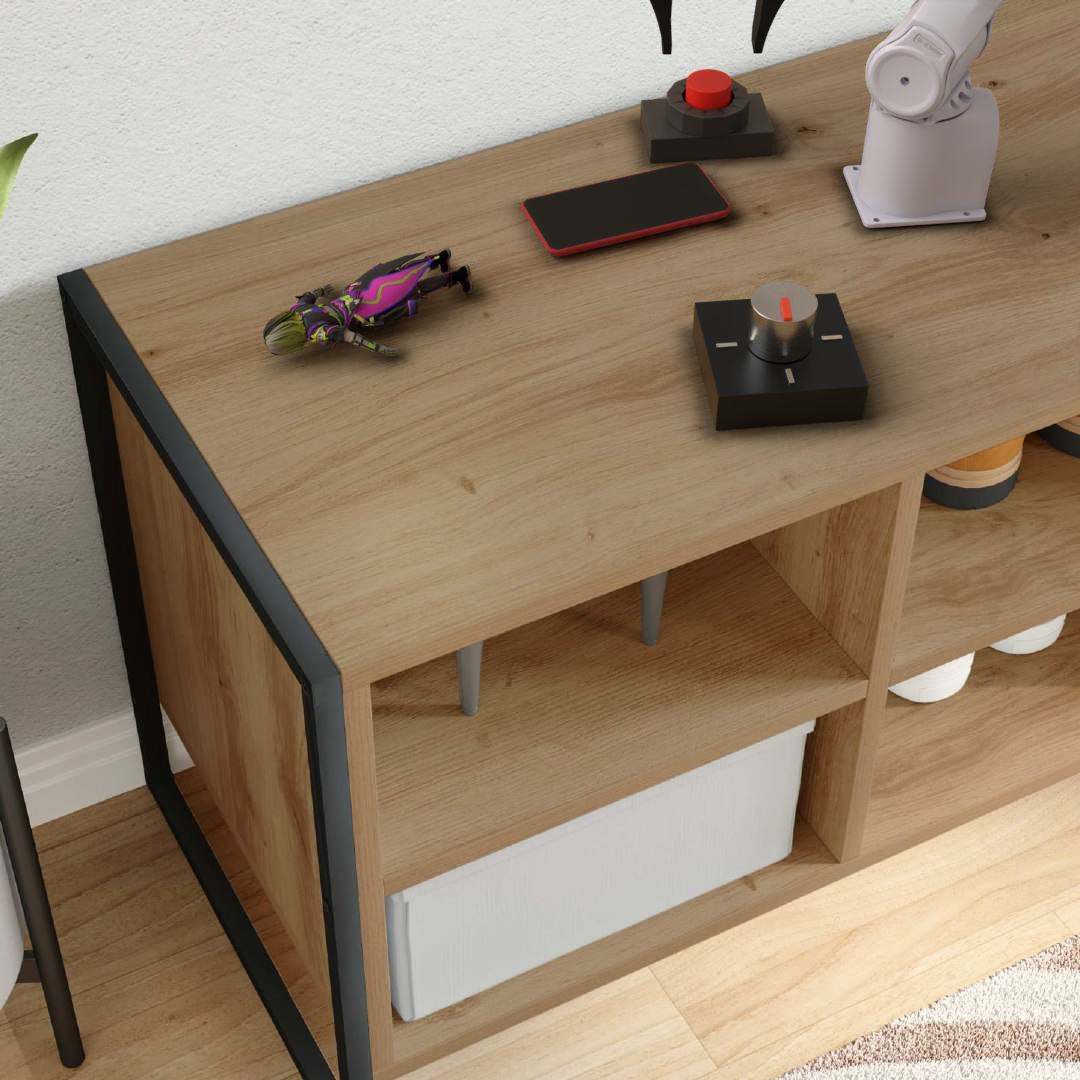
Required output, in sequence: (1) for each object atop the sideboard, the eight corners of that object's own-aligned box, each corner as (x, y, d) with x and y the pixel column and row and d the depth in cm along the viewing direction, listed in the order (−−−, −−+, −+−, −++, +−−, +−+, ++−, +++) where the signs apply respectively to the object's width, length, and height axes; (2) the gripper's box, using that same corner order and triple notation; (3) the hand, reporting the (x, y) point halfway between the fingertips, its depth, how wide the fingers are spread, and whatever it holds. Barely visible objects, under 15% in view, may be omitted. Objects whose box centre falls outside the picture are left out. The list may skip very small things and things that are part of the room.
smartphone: (518, 200, 122) (695, 159, 125) (518, 209, 123) (695, 169, 126) (551, 253, 117) (734, 209, 121) (551, 263, 118) (733, 219, 121)
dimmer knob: (743, 322, 108) (748, 277, 105) (808, 321, 108) (814, 276, 105) (749, 363, 105) (754, 318, 102) (815, 362, 105) (822, 317, 102)
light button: (726, 86, 128) (727, 67, 127) (734, 110, 126) (735, 90, 124) (682, 89, 128) (683, 70, 127) (689, 113, 125) (690, 93, 124)
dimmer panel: (830, 326, 112) (836, 290, 110) (863, 419, 106) (869, 383, 103) (692, 335, 112) (694, 300, 110) (715, 430, 105) (718, 394, 103)
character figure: (424, 256, 120) (236, 328, 113) (423, 213, 117) (230, 285, 110) (494, 317, 114) (300, 397, 108) (494, 275, 112) (295, 354, 105)
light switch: (758, 114, 132) (762, 70, 129) (772, 157, 127) (777, 113, 124) (639, 121, 131) (641, 78, 128) (650, 165, 127) (652, 121, 124)
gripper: (624, -99, 111) (620, 75, 121) (830, -102, 111) (810, 73, 121) (621, -142, 116) (617, 29, 126) (819, -145, 115) (800, 27, 125)
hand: (711, 47), depth 123 cm, fingers open, 6 cm apart
